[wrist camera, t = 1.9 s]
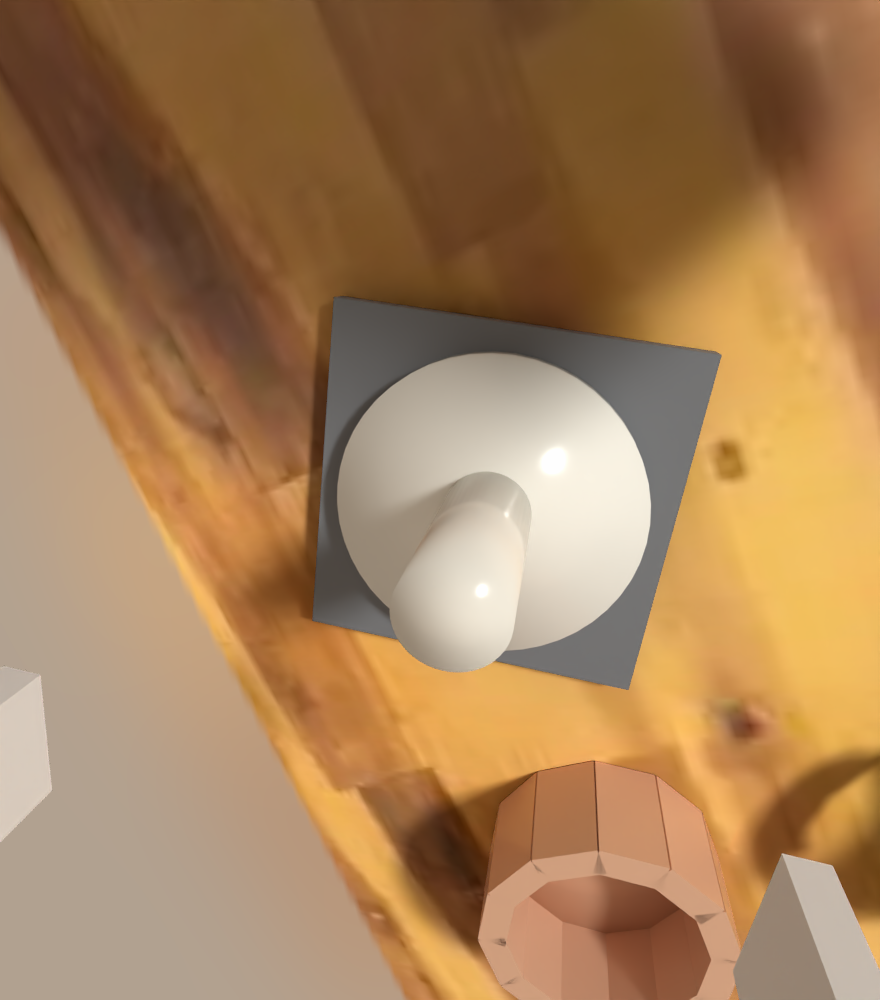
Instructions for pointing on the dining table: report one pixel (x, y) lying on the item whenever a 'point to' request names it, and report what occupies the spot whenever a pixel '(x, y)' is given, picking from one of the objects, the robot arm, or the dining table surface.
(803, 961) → the robot arm
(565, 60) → the dining table surface
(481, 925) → the bowl
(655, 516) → the mat
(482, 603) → the lid
